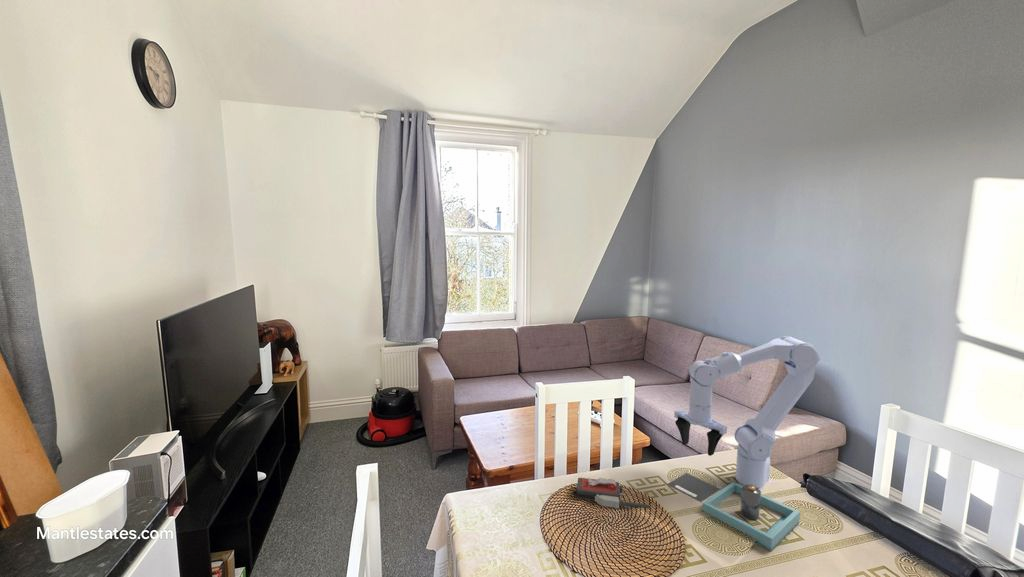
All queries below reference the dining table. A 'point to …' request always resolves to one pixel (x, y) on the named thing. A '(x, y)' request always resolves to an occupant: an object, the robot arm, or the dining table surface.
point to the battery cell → (750, 502)
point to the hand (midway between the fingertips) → (697, 449)
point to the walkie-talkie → (603, 493)
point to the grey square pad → (693, 487)
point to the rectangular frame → (763, 538)
